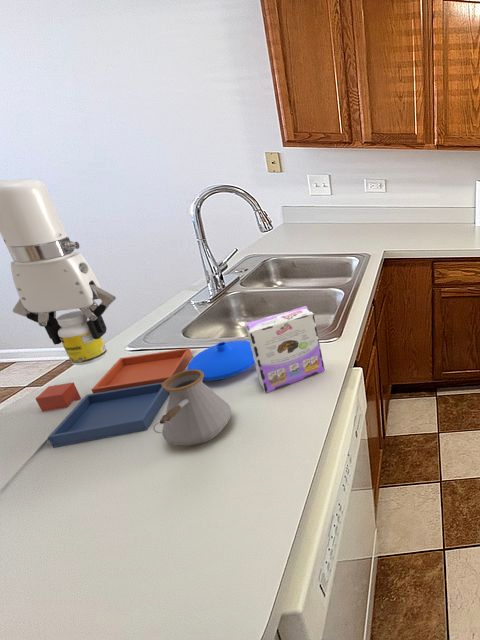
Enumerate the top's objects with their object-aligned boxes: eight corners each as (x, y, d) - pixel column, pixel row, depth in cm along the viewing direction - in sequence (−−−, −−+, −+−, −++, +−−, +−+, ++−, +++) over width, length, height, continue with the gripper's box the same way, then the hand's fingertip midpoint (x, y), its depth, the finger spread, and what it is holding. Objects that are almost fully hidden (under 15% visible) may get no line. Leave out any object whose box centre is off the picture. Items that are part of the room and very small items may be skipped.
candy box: (317, 361, 103) (306, 304, 97) (325, 371, 99) (314, 313, 93) (259, 382, 95) (243, 321, 89) (265, 394, 91) (249, 331, 84)
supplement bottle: (64, 364, 78) (43, 320, 74) (95, 349, 83) (76, 307, 79) (85, 367, 76) (64, 323, 73) (115, 352, 81) (97, 310, 78)
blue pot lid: (266, 346, 110) (260, 324, 107) (259, 379, 96) (253, 354, 93) (199, 358, 104) (192, 335, 102) (182, 394, 91) (173, 368, 88)
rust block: (43, 415, 84) (35, 398, 83) (56, 402, 88) (48, 386, 87) (69, 411, 86) (61, 394, 84) (81, 398, 90) (73, 382, 88)
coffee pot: (173, 421, 83) (150, 361, 77) (236, 406, 87) (219, 347, 81) (145, 506, 65) (112, 435, 59) (226, 480, 69) (203, 412, 64)
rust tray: (95, 399, 89) (91, 389, 88) (123, 366, 101) (120, 358, 100) (174, 385, 94) (170, 376, 93) (192, 356, 105) (189, 347, 104)
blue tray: (53, 447, 76) (47, 437, 75) (91, 404, 88) (86, 394, 87) (147, 429, 80) (142, 419, 79) (171, 390, 92) (168, 381, 91)
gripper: (111, 240, 77) (141, 323, 83) (-5, 249, 72) (38, 336, 79) (89, 252, 70) (124, 340, 77) (-39, 262, 65) (11, 356, 72)
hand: (80, 337), depth 78 cm, fingers closed on supplement bottle, 5 cm apart
